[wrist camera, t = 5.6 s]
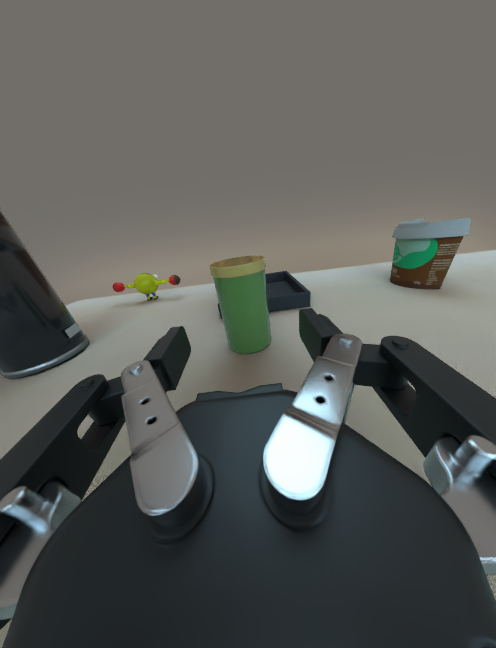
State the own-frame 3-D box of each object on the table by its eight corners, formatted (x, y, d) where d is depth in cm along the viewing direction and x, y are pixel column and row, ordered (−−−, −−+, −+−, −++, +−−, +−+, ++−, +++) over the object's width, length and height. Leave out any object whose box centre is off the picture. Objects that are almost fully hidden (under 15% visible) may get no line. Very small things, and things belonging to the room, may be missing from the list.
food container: (374, 274, 40) (383, 223, 35) (407, 272, 38) (422, 218, 33) (398, 293, 30) (415, 225, 25) (445, 291, 28) (474, 217, 23)
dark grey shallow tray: (220, 319, 31) (217, 305, 29) (227, 289, 46) (225, 279, 45) (310, 306, 30) (310, 292, 29) (286, 280, 45) (286, 270, 44)
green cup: (226, 357, 21) (204, 270, 16) (229, 332, 26) (213, 261, 21) (275, 350, 21) (268, 261, 16) (268, 326, 26) (261, 253, 21)
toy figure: (189, 291, 49) (181, 266, 46) (180, 299, 44) (171, 271, 41) (129, 298, 51) (117, 275, 48) (115, 306, 46) (101, 280, 43)
